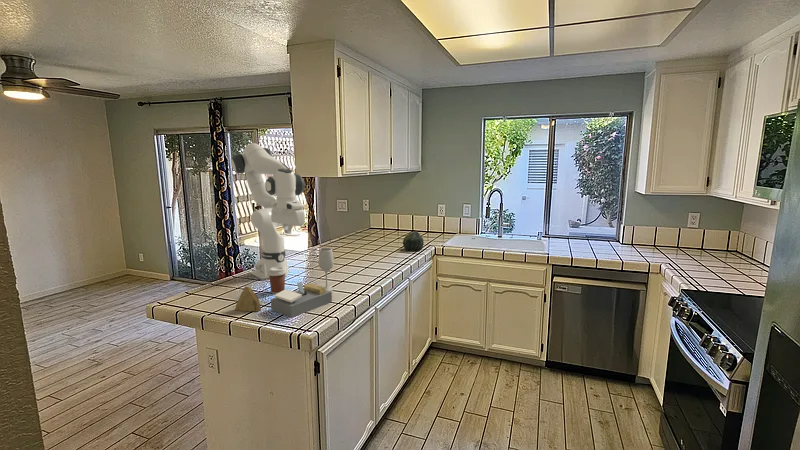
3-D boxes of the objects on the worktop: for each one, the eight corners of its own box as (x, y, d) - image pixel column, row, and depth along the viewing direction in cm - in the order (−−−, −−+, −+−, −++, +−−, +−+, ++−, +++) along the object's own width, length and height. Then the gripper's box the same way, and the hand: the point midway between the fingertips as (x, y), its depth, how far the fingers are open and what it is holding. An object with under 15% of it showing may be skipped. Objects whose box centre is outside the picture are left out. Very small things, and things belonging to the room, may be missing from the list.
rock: (268, 304, 173) (257, 295, 179) (256, 292, 167) (246, 284, 174) (248, 323, 168) (239, 313, 175) (236, 312, 163) (227, 302, 170)
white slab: (274, 297, 171) (274, 295, 171) (285, 291, 175) (285, 289, 175) (290, 302, 165) (290, 300, 164) (302, 296, 169) (301, 294, 169)
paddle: (299, 295, 176) (296, 283, 176) (303, 294, 177) (299, 282, 177) (301, 295, 175) (298, 282, 175) (305, 294, 176) (302, 281, 177)
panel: (271, 310, 172) (270, 295, 171) (311, 295, 190) (311, 282, 189) (291, 317, 164) (291, 302, 163) (331, 301, 182) (331, 287, 181)
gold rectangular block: (303, 289, 184) (303, 285, 184) (309, 287, 187) (309, 283, 187) (319, 294, 178) (319, 289, 177) (325, 292, 180) (325, 287, 180)
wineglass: (319, 292, 195) (318, 251, 192) (318, 287, 202) (317, 248, 199) (335, 291, 197) (334, 250, 194) (333, 286, 204) (332, 247, 201)
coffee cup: (280, 287, 202) (279, 265, 200) (291, 291, 197) (290, 268, 195) (264, 292, 195) (263, 268, 193) (275, 296, 190) (274, 272, 188)
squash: (399, 240, 296) (404, 228, 285) (418, 240, 300) (423, 228, 289) (403, 256, 287) (408, 243, 276) (422, 255, 292) (428, 243, 281)
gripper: (267, 203, 185) (268, 232, 187) (295, 206, 173) (296, 237, 175) (278, 202, 190) (279, 230, 192) (306, 205, 178) (307, 234, 180)
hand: (287, 233), depth 184 cm, fingers closed
